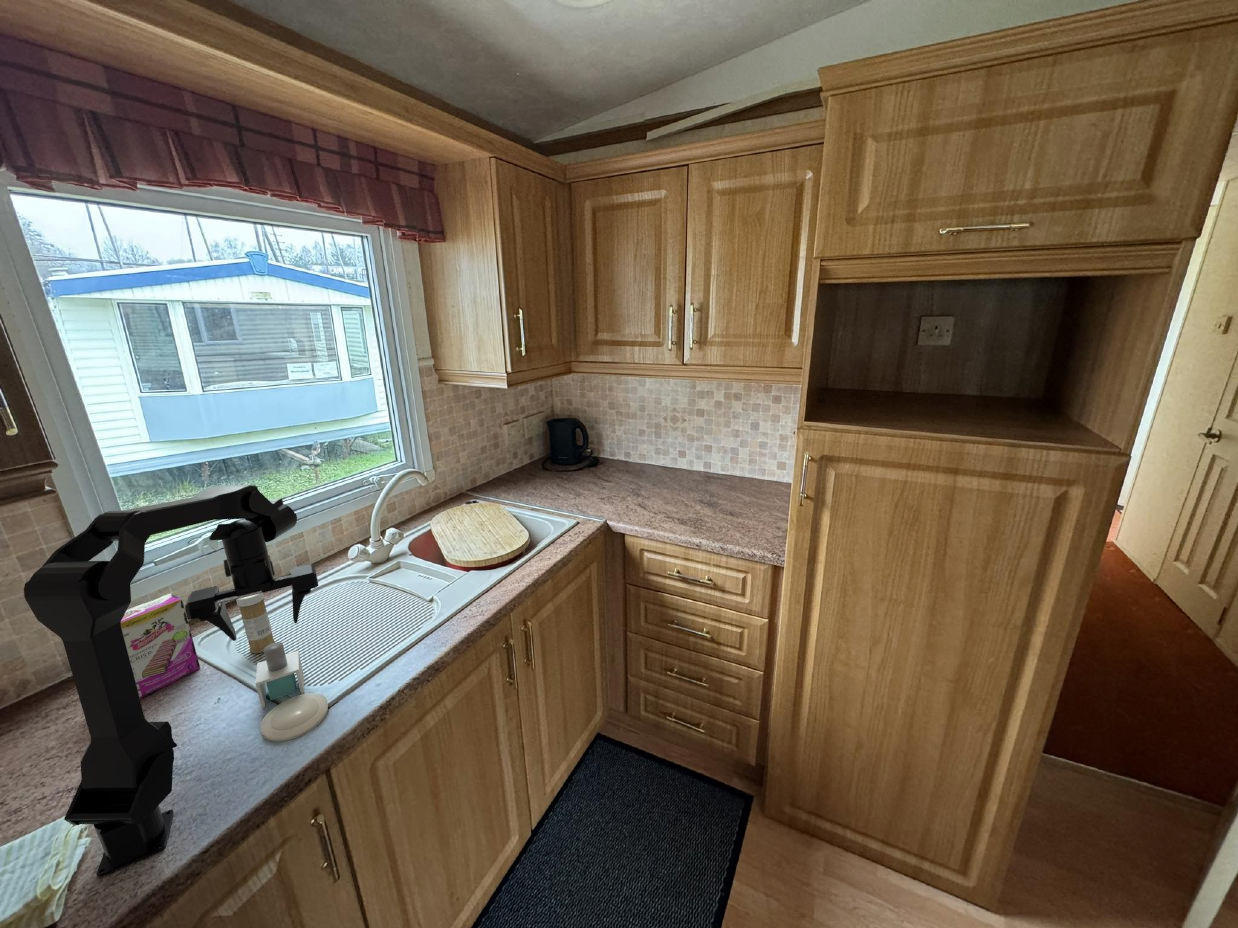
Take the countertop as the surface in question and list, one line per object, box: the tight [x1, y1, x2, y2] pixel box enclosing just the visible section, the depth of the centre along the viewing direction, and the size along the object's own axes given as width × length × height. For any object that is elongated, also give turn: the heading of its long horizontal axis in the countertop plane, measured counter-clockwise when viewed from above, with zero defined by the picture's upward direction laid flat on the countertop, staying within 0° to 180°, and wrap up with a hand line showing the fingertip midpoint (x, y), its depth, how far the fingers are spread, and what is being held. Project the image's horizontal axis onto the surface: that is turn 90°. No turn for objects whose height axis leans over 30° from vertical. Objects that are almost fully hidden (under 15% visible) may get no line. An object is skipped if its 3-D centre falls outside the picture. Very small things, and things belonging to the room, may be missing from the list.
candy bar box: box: [121, 593, 201, 700], centre depth 93 cm, size 11×5×16 cm, turn 154°
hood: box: [255, 641, 305, 708], centre depth 92 cm, size 7×7×10 cm
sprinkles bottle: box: [235, 593, 276, 654], centre depth 103 cm, size 5×5×14 cm
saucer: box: [260, 692, 329, 743], centre depth 86 cm, size 10×10×1 cm
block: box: [266, 673, 297, 701], centre depth 92 cm, size 4×4×4 cm
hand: (266, 630), depth 89 cm, fingers open, 9 cm apart
